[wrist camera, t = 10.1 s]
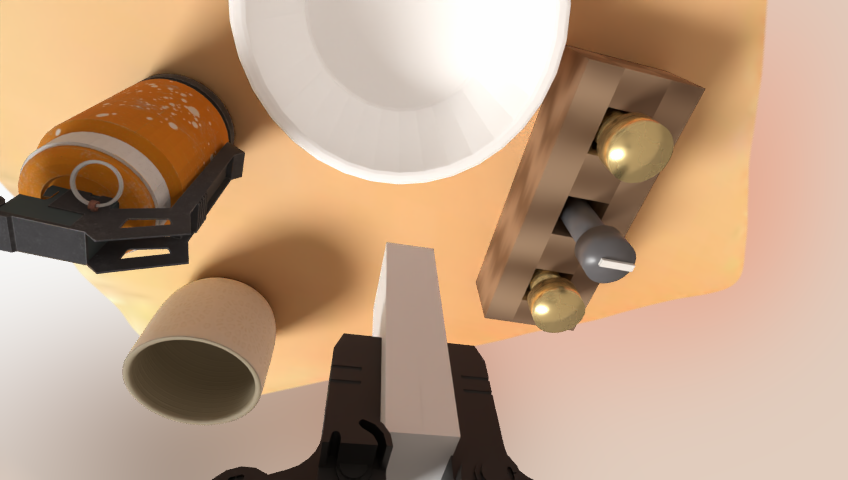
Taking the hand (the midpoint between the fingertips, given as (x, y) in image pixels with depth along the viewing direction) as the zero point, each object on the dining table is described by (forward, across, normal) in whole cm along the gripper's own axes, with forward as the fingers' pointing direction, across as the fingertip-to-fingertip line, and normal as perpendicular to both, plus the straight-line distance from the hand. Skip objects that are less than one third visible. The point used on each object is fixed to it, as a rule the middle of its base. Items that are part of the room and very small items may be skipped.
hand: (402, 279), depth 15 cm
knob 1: (+29, +18, -17) cm, 38 cm away
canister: (+30, -16, -9) cm, 35 cm away
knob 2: (+29, +19, -1) cm, 34 cm away
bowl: (+30, 0, +4) cm, 30 cm away
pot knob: (+26, +19, -9) cm, 33 cm away
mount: (+29, +19, -9) cm, 36 cm away
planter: (+29, -14, -30) cm, 44 cm away
